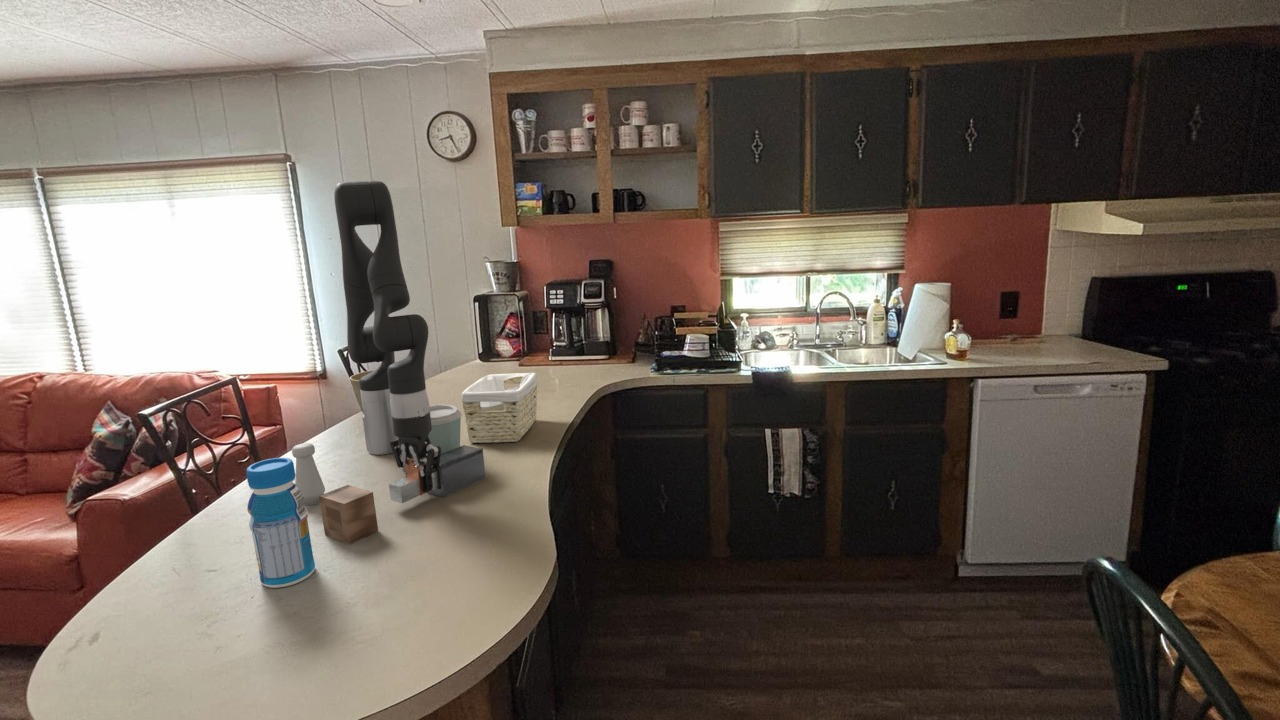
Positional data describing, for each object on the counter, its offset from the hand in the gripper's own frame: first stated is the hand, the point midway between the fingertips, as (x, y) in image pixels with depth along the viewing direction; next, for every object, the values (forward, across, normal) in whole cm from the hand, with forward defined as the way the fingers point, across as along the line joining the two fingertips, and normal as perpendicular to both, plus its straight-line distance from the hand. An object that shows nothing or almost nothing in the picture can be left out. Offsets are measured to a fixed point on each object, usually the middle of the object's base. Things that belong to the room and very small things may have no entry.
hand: (420, 488), depth 136 cm
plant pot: (+3, -58, +33) cm, 67 cm away
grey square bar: (+1, 0, +4) cm, 5 cm away
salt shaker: (+3, -22, -11) cm, 25 cm away
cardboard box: (+3, 0, -16) cm, 17 cm away
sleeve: (+3, 0, +10) cm, 10 cm away
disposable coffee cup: (+3, -11, +16) cm, 19 cm away
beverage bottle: (+3, +5, -31) cm, 32 cm away
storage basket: (+3, -18, +44) cm, 48 cm away
